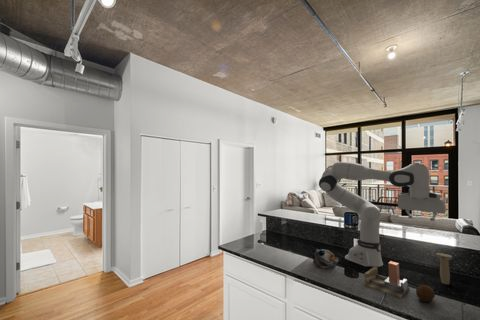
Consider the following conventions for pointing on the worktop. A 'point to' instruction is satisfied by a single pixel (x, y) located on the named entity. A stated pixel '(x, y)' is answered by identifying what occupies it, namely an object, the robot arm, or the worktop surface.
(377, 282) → the frame
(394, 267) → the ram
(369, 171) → the robot arm
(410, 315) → the worktop surface
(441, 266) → the handle
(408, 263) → the worktop surface
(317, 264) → the lucky cat figurine
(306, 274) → the worktop surface
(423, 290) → the potato
